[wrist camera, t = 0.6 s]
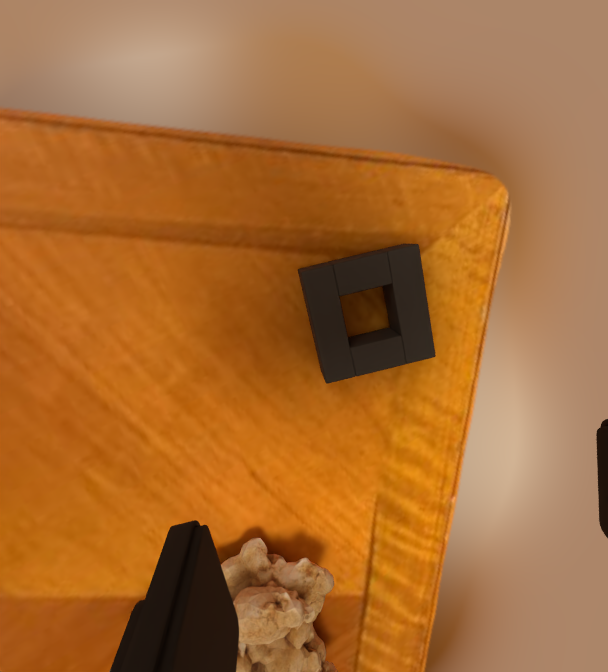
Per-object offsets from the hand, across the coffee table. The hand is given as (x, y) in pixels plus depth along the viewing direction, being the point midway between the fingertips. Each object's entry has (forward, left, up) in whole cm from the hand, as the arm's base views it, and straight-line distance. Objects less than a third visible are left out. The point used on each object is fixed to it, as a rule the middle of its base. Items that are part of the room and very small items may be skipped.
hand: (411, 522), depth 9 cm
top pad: (-1, +3, -17) cm, 18 cm away
